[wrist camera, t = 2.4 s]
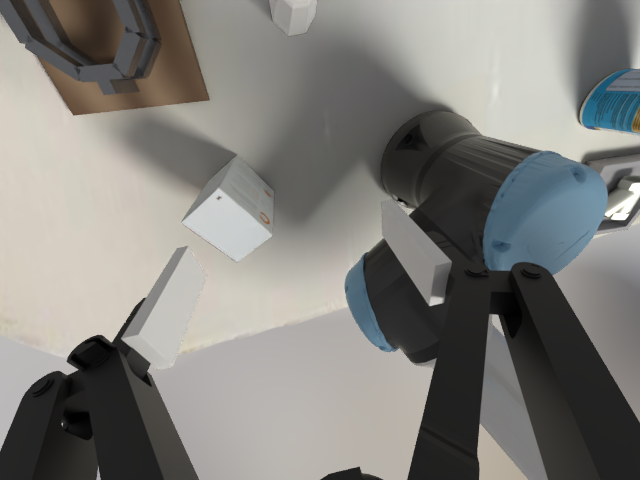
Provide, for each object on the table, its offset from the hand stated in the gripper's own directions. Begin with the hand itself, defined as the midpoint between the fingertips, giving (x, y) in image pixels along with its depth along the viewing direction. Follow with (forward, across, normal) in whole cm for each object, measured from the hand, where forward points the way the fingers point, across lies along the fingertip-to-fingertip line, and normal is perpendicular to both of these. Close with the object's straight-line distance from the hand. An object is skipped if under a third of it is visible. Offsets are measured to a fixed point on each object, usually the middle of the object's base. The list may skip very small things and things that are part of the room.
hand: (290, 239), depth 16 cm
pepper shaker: (+24, -5, -15) cm, 29 cm away
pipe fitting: (+23, -61, +22) cm, 69 cm away
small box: (+24, +8, +4) cm, 25 cm away
